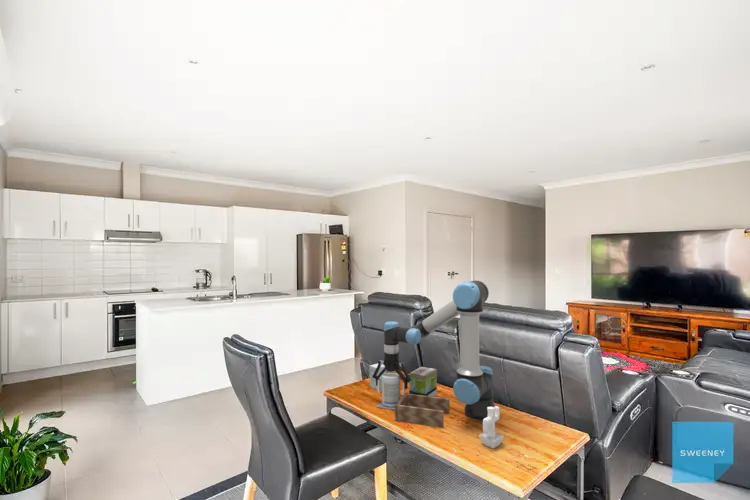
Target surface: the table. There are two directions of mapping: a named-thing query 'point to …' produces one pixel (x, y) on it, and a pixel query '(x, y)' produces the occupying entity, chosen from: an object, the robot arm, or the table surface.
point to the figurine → (491, 428)
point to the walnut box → (422, 410)
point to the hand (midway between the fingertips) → (391, 393)
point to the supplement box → (371, 372)
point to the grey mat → (385, 407)
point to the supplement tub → (390, 389)
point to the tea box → (423, 382)
